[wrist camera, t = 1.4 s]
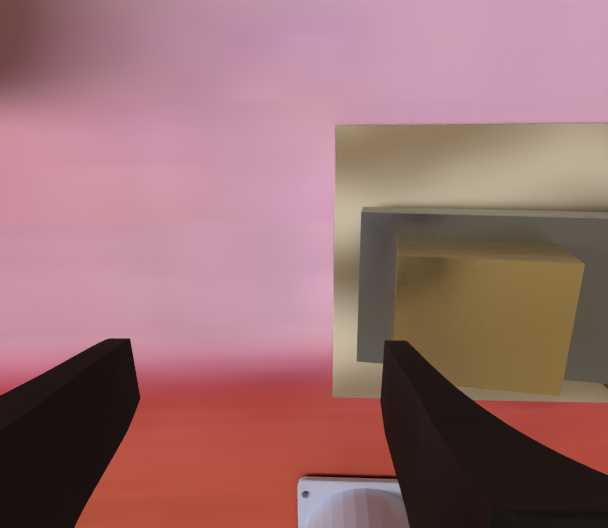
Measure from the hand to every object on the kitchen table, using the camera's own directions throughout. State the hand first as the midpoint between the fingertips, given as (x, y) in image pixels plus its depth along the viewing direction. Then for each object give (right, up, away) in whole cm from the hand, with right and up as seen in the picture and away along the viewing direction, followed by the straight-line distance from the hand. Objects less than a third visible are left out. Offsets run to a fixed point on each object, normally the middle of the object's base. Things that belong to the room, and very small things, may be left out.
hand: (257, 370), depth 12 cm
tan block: (+8, +2, +6) cm, 10 cm away
